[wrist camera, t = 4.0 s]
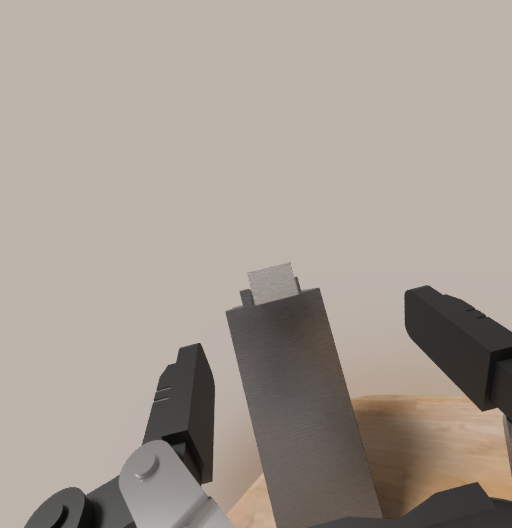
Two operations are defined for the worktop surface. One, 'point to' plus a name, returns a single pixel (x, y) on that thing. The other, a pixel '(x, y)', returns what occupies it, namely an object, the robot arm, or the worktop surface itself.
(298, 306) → the gray grooved tower
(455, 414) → the worktop surface
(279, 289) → the brushed metal block
